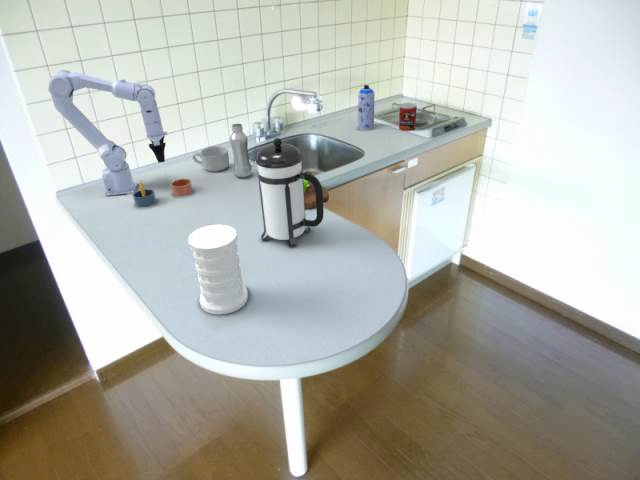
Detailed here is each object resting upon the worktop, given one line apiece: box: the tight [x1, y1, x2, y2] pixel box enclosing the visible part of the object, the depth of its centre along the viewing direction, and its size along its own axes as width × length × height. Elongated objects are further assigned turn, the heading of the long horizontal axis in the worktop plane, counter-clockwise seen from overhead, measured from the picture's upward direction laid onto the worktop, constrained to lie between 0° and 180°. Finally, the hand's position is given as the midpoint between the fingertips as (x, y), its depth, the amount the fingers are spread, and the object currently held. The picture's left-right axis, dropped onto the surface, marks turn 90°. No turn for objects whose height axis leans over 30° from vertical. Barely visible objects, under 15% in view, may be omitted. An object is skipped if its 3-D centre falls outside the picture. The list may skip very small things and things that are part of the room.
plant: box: [303, 170, 330, 210], centre depth 158 cm, size 20×20×11 cm
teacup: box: [192, 145, 230, 173], centre depth 184 cm, size 14×11×8 cm
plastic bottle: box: [229, 123, 253, 178], centre depth 174 cm, size 6×7×20 cm
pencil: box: [138, 180, 146, 197], centre depth 160 cm, size 1×1×8 cm
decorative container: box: [187, 223, 249, 315], centre depth 109 cm, size 12×12×18 cm
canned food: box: [398, 102, 418, 132], centre depth 218 cm, size 8×8×11 cm
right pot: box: [170, 178, 194, 197], centre depth 167 cm, size 7×7×4 cm
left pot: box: [132, 188, 158, 208], centre depth 161 cm, size 7×7×4 cm
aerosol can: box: [357, 84, 376, 132], centre depth 218 cm, size 8×8×20 cm
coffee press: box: [254, 137, 325, 248], centre depth 131 cm, size 17×16×30 cm
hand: (161, 158), depth 170 cm, fingers open, 7 cm apart
